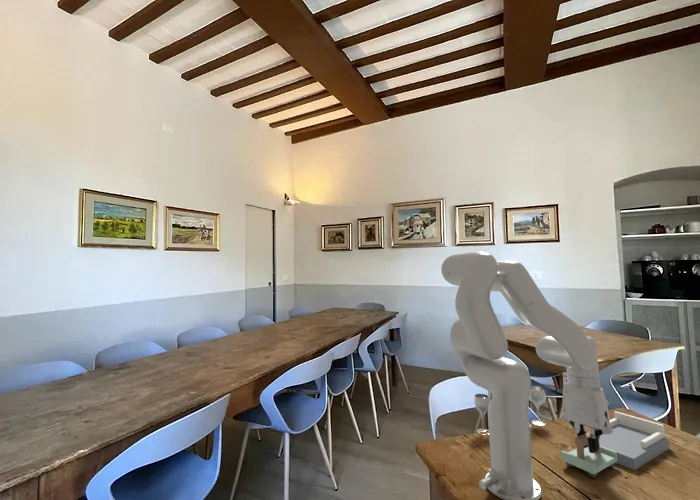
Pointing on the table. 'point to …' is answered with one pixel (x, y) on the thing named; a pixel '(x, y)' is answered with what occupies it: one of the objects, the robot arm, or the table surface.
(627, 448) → the dock
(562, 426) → the table surface
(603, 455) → the mint green tray
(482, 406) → the goblet set
